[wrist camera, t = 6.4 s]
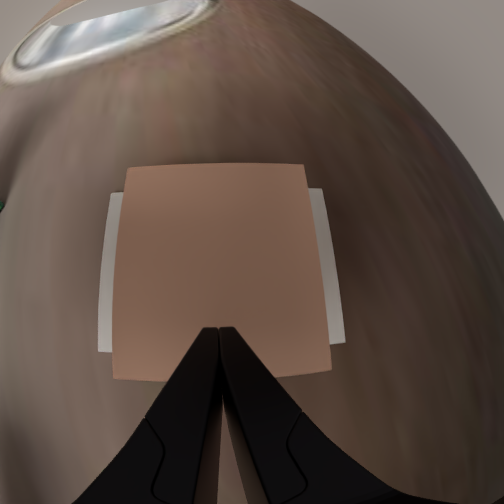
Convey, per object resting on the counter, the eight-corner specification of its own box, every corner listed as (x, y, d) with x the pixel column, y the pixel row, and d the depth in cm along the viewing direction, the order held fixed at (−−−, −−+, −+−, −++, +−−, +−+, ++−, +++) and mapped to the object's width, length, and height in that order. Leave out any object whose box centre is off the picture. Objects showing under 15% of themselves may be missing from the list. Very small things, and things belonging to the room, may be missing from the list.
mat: (342, 342, 16) (345, 342, 15) (100, 351, 14) (98, 351, 14) (320, 191, 19) (321, 188, 19) (113, 196, 17) (111, 193, 17)
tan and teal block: (331, 370, 11) (303, 164, 14) (113, 378, 10) (127, 167, 13) (305, 366, 15) (287, 202, 18) (139, 373, 14) (144, 205, 17)
